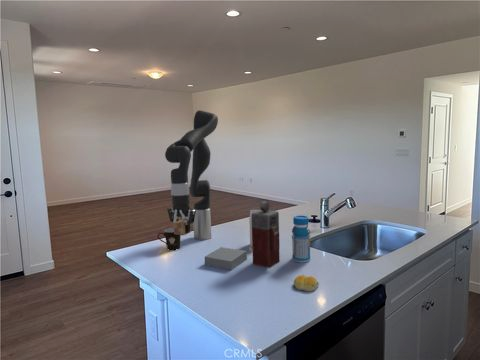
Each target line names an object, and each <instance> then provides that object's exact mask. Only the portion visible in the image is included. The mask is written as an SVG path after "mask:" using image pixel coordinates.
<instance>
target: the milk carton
mask: <svg viewBox="0 0 480 360" xmlns="http://www.w3.org/2000/svg"><path fill="white" fill-rule="evenodd" d="M260 210H261V209H250V211H249V221H248V222H249V247H250V248H252V217H251V215H252V213H254V212H257V211H260Z"/></svg>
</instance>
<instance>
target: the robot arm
mask: <svg viewBox="0 0 480 360" xmlns="http://www.w3.org/2000/svg"><path fill="white" fill-rule="evenodd" d="M218 121H219V118H218V116H217V114H215V113H212V112H208V111H205V110H197V111H196V112H195V114H194V117H193V129H190V130H189V131H187V132H186V133H185V134H184V135H183V136H182V137H181V138H180V139H178V140H177V141H175V142H174V143H171V144H170V145H169V146H168V147H167V148H166V150H165V153H164V157H165V159H166V161H167V162H169V163H171V164H172V163H173V164H177V163H178V164H179V166H178V168H177V167H176V168H174V169H171V171H170V183H171V185H170V192H171V193H170V194H171V205H172V206H171V207H168V208H166V210H167V214H168V219H169V222H172V224H174V222H177V221H180V220H184V222H185V233H188V234H190V233H191V232H190V227H191V225H192V228H193V238H194V239H196V240H198V241H200V240H201V241H204V240H209V239H211V238H212V219H211V184H210V182H209V180H207V179H204V180H201V179H200V178H201V176H202V175H203V174H204V172H205V171H206V170H207V169H208V167H209V165H210V164H211V163H210V162H211V153H212V152H211V150H210V147H209V145H208V143H207V141H206V140H205V138H207V137H208V136H209V135H211V134H212V133H213V132H215V130H216V129H217V126H218V124H219V122H218ZM191 152H192V153H191ZM191 160H192V166H191V170H192V171H191V179H190V184H189V176H188V175H189V174H188V173H189V168H190V163H191ZM199 179H200V180H199ZM190 196H191V197H192V198H200V197H202V199H201V200H199V201H197V202H195V203H194V204H193V209H192V208H190V207H191V206H190V202H191V199H190ZM181 218H182V219H181ZM187 221H188V222H187ZM189 232H190V233H189Z"/></svg>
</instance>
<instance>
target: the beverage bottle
mask: <svg viewBox="0 0 480 360" xmlns="http://www.w3.org/2000/svg"><path fill="white" fill-rule="evenodd" d="M309 219H310V218H309V217H308V216H307V215H302V214H301V215H294V216H293V220H292V222H293V225H294V226H293V227H292V230H291V233H292V235H291V240H292V241H291V242H292V244H291V245H292V246H291V247H292V255H291V257H292V259H291V260H293V261H294V262H297V263H307V262H310V261H311V238H312V236H311V235H310V234H311V229H310V227H309V223H310V221H309Z"/></svg>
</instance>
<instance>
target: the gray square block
mask: <svg viewBox="0 0 480 360" xmlns="http://www.w3.org/2000/svg"><path fill="white" fill-rule="evenodd" d="M247 252H248V251H247V250H241V249H234V248H228V247H223V246H221V247H219V248H217V249H216V250H214V251H212V252H210V253H208V254H206V255H205V256H204V266H207V267H212V268H218V269H223V270H226V271H233V270H235V269H236V268H237V267H238V266H240V265H241V264H242V263H244V262H246V261H247V260H248V254H247Z"/></svg>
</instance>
